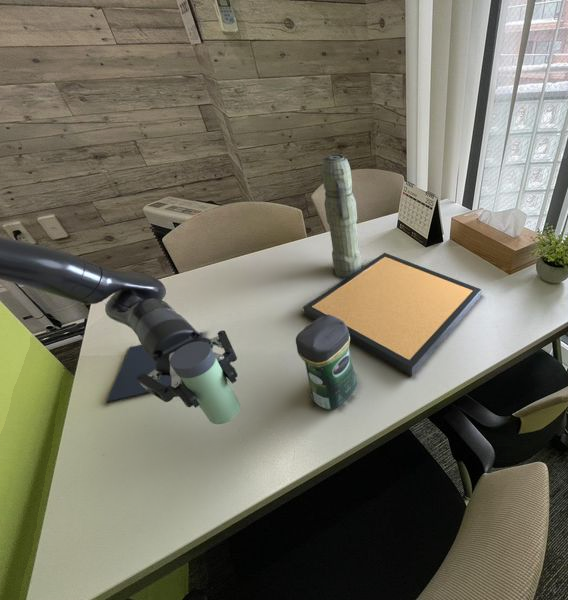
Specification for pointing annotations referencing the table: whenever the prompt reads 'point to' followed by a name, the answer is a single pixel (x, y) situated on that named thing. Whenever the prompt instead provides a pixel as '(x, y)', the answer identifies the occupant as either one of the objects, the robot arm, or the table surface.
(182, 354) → the canister
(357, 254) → the thermos
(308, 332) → the coffee jar
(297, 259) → the table surface
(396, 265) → the cork board
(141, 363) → the mat
